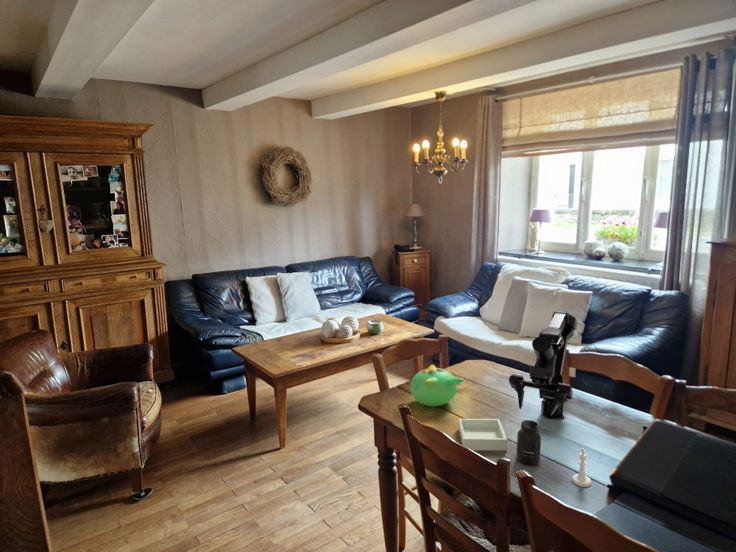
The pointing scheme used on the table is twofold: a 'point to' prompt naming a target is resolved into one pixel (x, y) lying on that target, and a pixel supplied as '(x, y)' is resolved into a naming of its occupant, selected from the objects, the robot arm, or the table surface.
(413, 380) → the toy bird
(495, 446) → the tray
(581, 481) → the chess piece
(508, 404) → the table surface
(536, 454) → the supplement bottle
